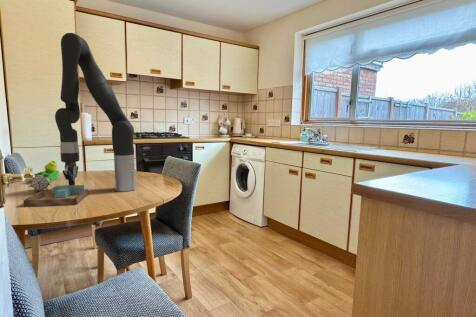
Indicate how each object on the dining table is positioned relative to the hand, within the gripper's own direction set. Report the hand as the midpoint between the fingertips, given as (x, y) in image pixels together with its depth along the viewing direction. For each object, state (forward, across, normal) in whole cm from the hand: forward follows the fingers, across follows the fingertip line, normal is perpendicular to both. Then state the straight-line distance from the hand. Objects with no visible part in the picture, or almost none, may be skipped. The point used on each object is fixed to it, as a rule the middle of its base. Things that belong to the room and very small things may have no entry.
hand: (72, 187), depth 136 cm
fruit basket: (+2, +22, +19) cm, 29 cm away
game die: (+2, +1, +14) cm, 14 cm away
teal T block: (+2, -7, 0) cm, 7 cm away
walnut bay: (+2, -16, 0) cm, 16 cm away
